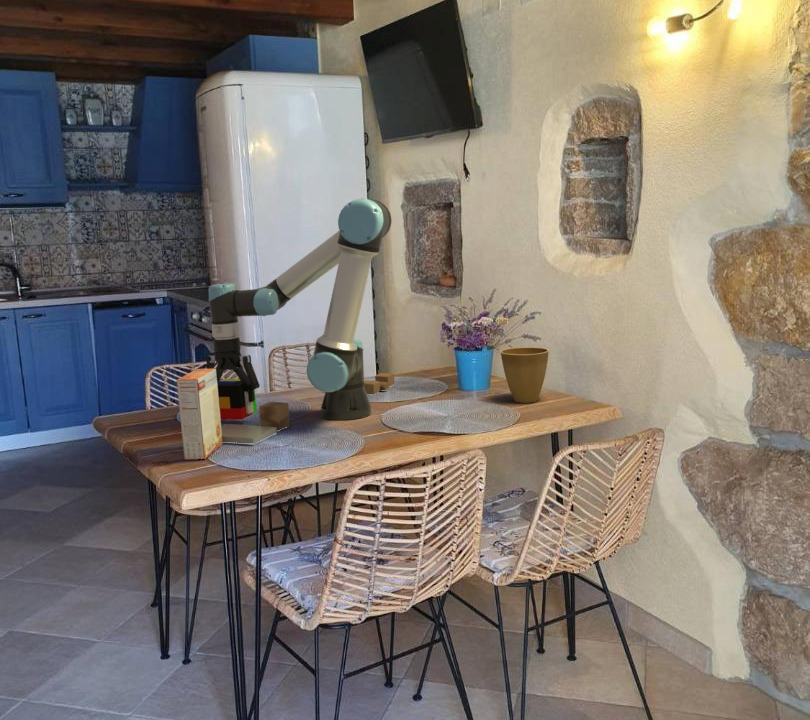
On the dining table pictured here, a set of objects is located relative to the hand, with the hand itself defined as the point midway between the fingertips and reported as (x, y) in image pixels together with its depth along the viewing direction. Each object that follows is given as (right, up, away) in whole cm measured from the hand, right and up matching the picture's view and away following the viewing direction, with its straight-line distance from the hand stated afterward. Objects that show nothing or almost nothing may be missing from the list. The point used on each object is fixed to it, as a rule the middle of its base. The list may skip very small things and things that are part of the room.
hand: (233, 412), depth 238 cm
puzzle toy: (0, -1, 0) cm, 1 cm away
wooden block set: (+36, +4, +43) cm, 57 cm away
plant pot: (+88, +2, +18) cm, 90 cm away
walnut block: (+13, -4, -6) cm, 15 cm away
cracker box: (-2, -9, -28) cm, 30 cm away
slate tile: (+5, -6, -15) cm, 17 cm away
